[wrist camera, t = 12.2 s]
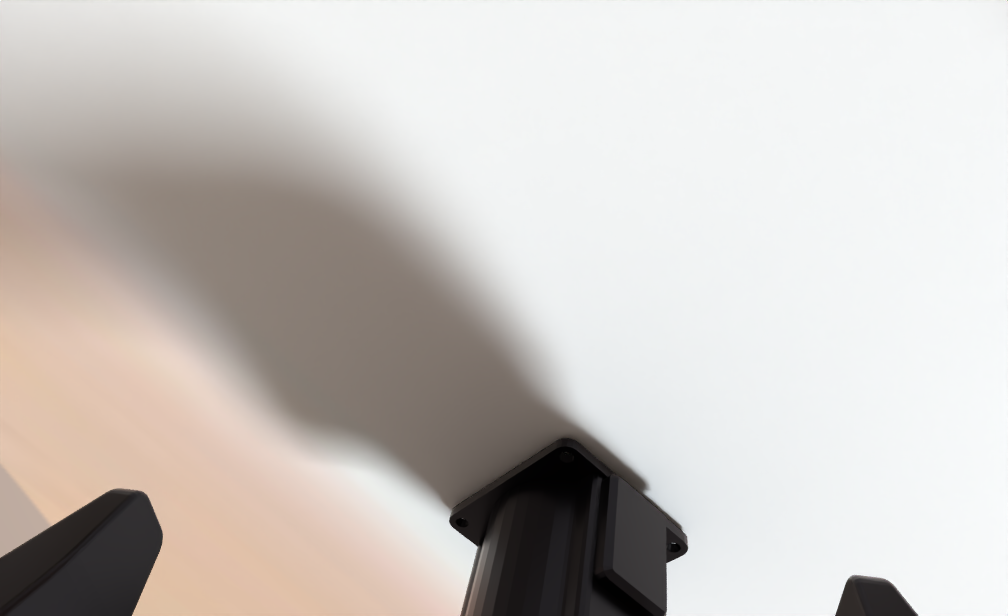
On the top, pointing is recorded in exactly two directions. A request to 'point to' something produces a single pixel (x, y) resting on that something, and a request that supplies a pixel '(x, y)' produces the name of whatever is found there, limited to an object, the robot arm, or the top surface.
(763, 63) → the top surface
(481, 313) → the top surface
